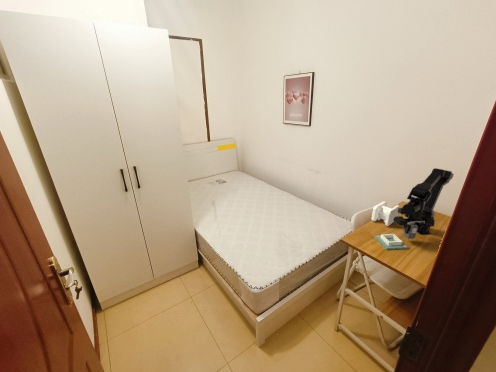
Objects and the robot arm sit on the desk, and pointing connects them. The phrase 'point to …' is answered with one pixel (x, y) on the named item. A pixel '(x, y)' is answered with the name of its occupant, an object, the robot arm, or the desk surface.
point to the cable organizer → (385, 213)
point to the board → (390, 246)
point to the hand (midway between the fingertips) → (409, 233)
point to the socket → (391, 243)
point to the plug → (411, 231)
